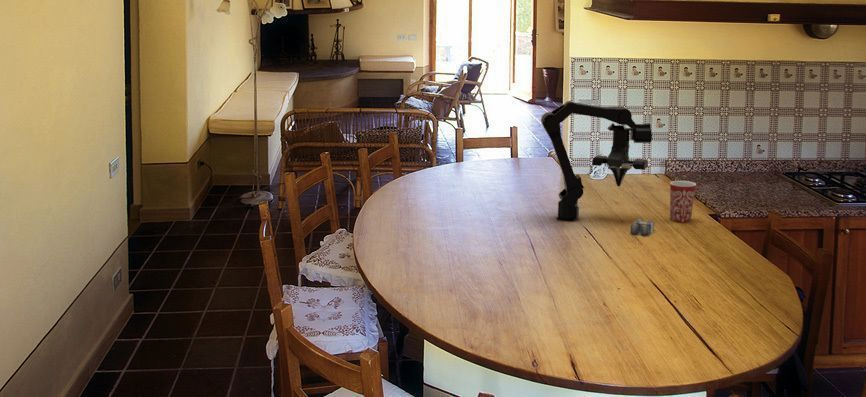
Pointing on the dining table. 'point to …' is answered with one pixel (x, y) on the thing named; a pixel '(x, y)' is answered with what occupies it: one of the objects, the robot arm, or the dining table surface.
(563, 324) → the dining table surface
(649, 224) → the block with round pegs
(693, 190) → the mug
